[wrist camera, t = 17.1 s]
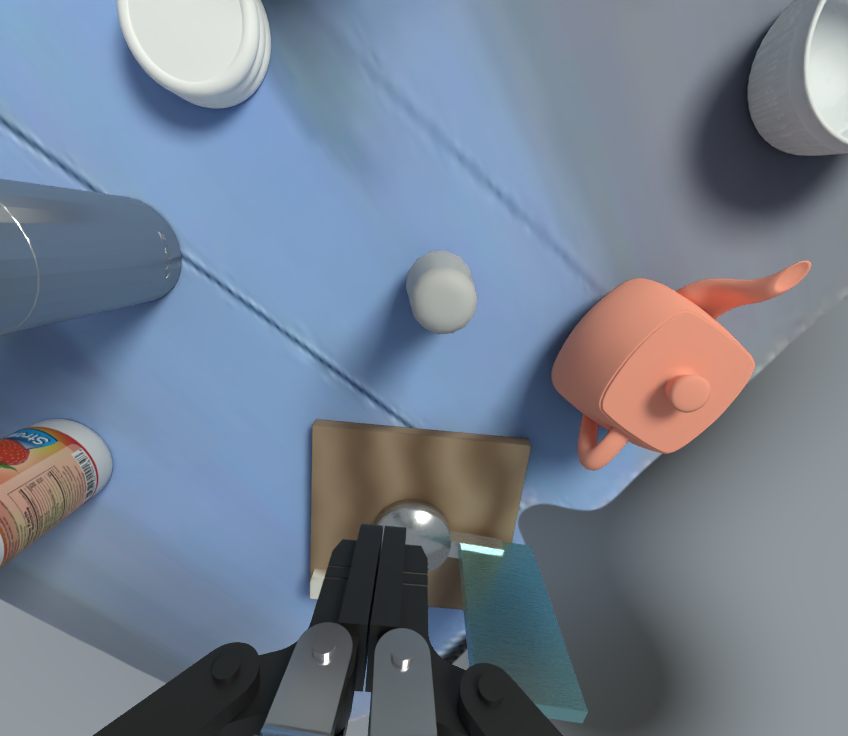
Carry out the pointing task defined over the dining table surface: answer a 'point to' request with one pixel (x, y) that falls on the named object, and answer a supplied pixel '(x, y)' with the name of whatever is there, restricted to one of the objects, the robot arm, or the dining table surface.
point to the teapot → (658, 362)
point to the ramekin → (803, 80)
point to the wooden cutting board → (412, 488)
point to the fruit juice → (46, 479)
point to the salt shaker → (441, 292)
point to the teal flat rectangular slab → (499, 606)
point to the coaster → (200, 46)
